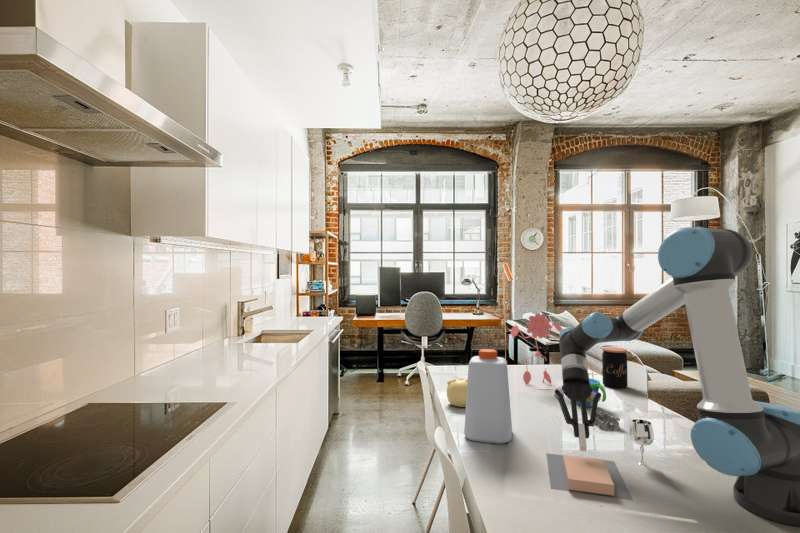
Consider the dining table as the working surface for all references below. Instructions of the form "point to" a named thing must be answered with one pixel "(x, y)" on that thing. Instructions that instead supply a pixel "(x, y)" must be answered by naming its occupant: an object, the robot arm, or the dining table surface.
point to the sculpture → (457, 392)
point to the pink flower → (537, 328)
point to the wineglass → (641, 434)
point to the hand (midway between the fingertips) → (583, 448)
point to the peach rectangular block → (587, 475)
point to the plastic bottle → (488, 399)
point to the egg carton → (602, 418)
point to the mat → (560, 483)
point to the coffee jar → (614, 367)
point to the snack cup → (595, 387)
